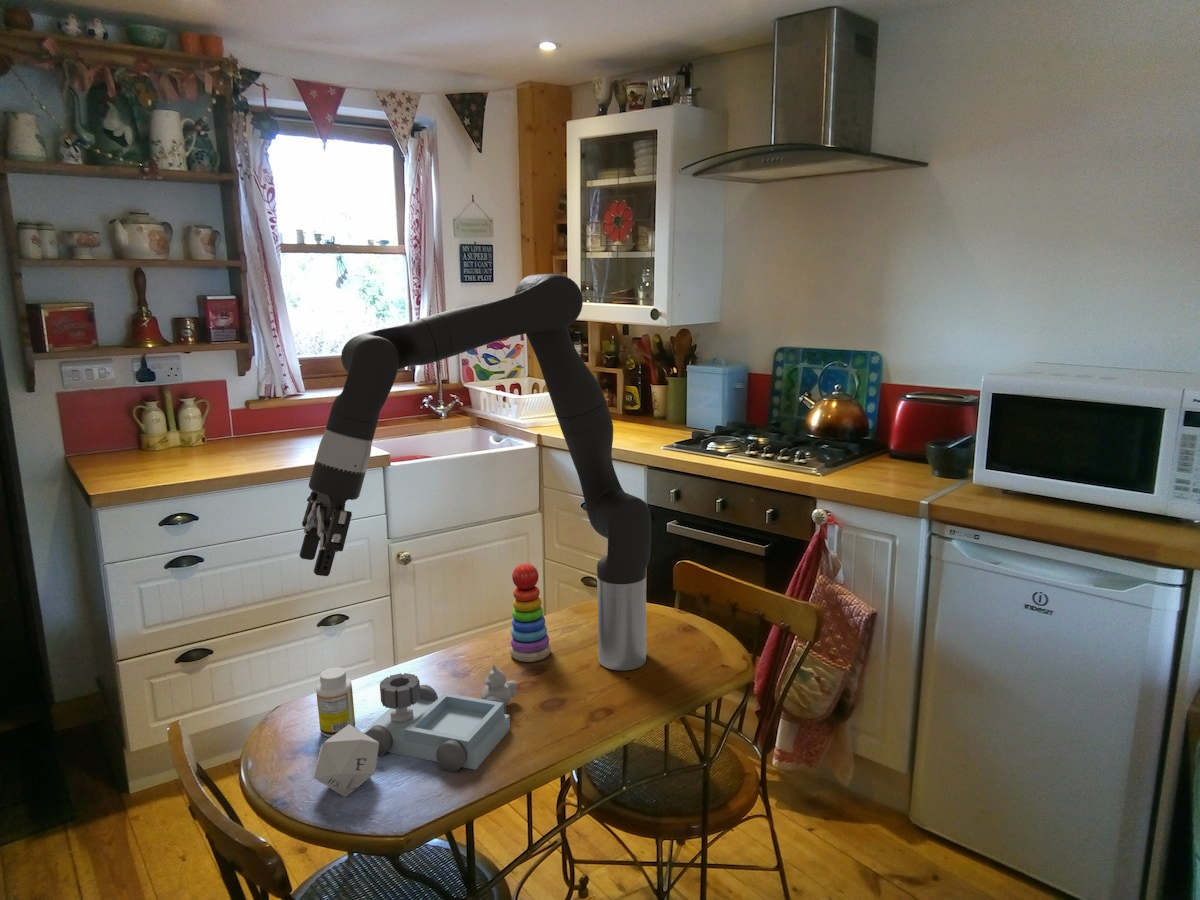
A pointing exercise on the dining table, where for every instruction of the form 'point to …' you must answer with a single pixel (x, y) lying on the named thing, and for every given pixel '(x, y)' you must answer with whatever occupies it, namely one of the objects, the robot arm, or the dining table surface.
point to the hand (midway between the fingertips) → (313, 566)
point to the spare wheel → (400, 690)
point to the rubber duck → (499, 686)
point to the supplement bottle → (334, 701)
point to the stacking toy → (528, 617)
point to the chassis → (443, 729)
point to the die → (346, 760)
